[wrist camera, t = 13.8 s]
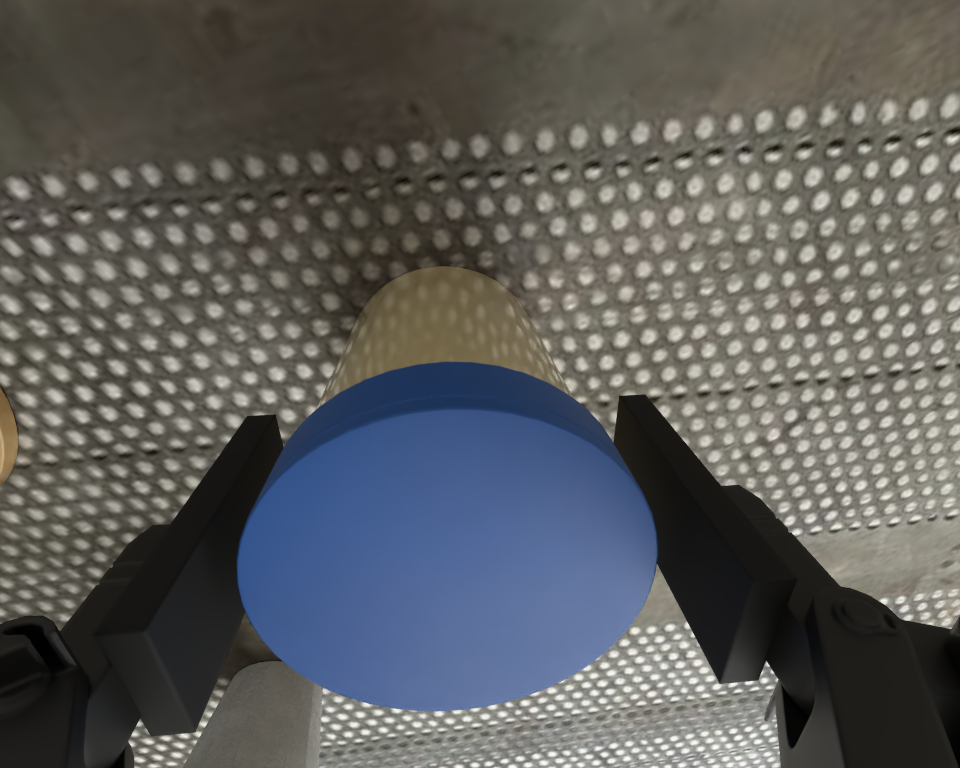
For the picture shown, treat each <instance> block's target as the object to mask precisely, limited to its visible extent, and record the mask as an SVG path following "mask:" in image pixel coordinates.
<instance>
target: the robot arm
mask: <svg viewBox="0 0 960 768" xmlns="http://www.w3.org/2000/svg"><path fill="white" fill-rule="evenodd" d="M614 445H615V447H616V448H617V450H618V452H619V453H620V455H621V457H622V458H623V460H624V462H625V463H626V465H627V467H628V468H629V470H630V472H631V473H632V475H633V477H634V478H635V480H636V482H637V483H638V485H639V487H640V488H641V490H642V492H643V493H644V496H645V498H646V500H647V502H648V505H649V507H650V509H651V511H652V514H653V518H654V523H655V527H656V531H657V544H658V557H657V564H658V566H659V568H660V570H661V572H662V574H663V576H664V578H665V580H666V582H667V584H668V585H669V587H670V589H671V591H672V593H673V595H674V597H675V599H676V601H677V603H678V605H679V606H680V608H681V610H682V612H683V614H684V616H685V618H686V620H687V622H688V624H689V626H690V628H691V629H692V631H693V633H694V635H695V637H696V639H697V641H698V643H699V645H700V647H701V649H702V651H703V652H704V654H705V656H706V658H707V660H708V662H709V664H710V666H711V668H712V670H713V672H714V673H715V675H716V677H717V679H718V681H719V683H720V684H723V683H734V682H745V681H756V680H759V677H760V674H761V672H762V669H763V667H764V664H765V662H766V661H767V662H768V664H769V665H770V667H771V668H772V670H773V672H774V673H775V675H776V676H777V678H778V679H779V680H778V683H777V685H776V687H775V690H774V692H773V695H772V697H771V699H770V702H769V704H768V706H767V709H766V714H765V721H768V722H772V719H773V717H774V715H775V713H776V716H777V727H778V738H779V749H780V760H781V768H960V617H959V618H958V620H957V621H956V623H955V624H954V626H953V628H952V629H947V628H942V627H937V626H932V625H926V624H921V623H916V622H911V621H905V620H901V619H900V618H898V617H897V616H896V615H895V614H894V613H893V612H892V611H891V610H890V609H889V608H888V607H887V606H885V605H884V604H882V603H881V602H879V601H877V600H876V599H874V598H872V597H871V596H869V595H867V594H864V593H862V592H859V591H857V590H854V589H851V588H846V587H840V586H839V585H838V583H837V582H836V581H835V580H834V579H833V578H832V577H831V576H830V575H829V574H828V572H827V571H826V570H825V569H824V568H823V567H822V566H821V565H820V564H819V563H818V562H817V560H816V559H815V558H814V557H813V556H812V555H811V554H810V553H809V552H808V551H807V549H806V548H805V547H804V546H803V545H802V544H801V543H800V542H799V541H798V540H797V538H796V537H795V536H794V535H793V534H792V533H789V532H788V529H787V527H786V526H785V525H784V524H783V523H782V522H781V521H780V520H779V519H776V517H775V514H774V513H773V512H772V511H771V510H770V509H769V508H768V507H767V506H766V504H765V503H764V502H763V501H762V500H761V499H760V498H758V497H757V496H755V495H754V494H752V493H751V492H749V491H747V490H746V489H744V488H743V487H741V486H740V485H730V486H721V485H720V484H719V483H718V482H717V481H716V479H715V478H714V477H713V476H712V475H711V473H710V472H709V471H708V470H707V468H706V467H705V466H704V465H703V464H702V462H701V461H700V460H699V459H698V458H697V456H696V455H695V454H694V453H693V452H692V450H691V449H690V448H689V447H688V446H687V444H686V443H685V442H684V441H683V440H682V438H681V437H680V436H679V435H678V434H677V432H676V431H675V430H674V429H673V428H672V426H671V425H670V424H669V423H668V421H667V420H666V419H665V418H664V417H663V415H662V414H661V413H660V412H659V411H658V409H657V408H656V407H655V406H654V405H653V403H652V402H651V401H650V400H649V399H648V397H647V396H646V395H628V396H619V403H618V411H617V419H616V427H615V435H614ZM283 449H284V448H283V443H282V439H281V435H280V431H279V427H278V423H277V419H276V415H260V416H247V417H246V419H245V420H244V421H243V423H242V424H241V426H240V427H239V428H238V430H237V431H236V433H235V434H234V436H233V437H232V438H231V440H230V441H229V443H228V444H227V445H226V447H225V448H224V450H223V451H222V452H221V454H220V455H219V457H218V458H217V460H216V461H215V462H214V464H213V465H212V467H211V468H210V469H209V471H208V472H207V474H206V475H205V476H204V478H203V479H202V481H201V482H200V484H199V485H198V486H197V488H196V489H195V491H194V492H193V493H192V495H191V496H190V498H189V499H188V500H187V502H186V503H185V505H184V506H183V508H182V509H181V510H180V512H179V513H178V515H177V516H176V517H175V519H174V520H173V522H172V523H171V524H168V525H153V526H151V527H150V528H148V529H147V530H146V531H144V532H143V533H142V534H141V535H139V536H138V537H137V538H135V539H134V540H133V541H132V542H130V543H129V544H128V545H127V547H126V548H125V549H124V550H123V552H122V553H121V554H120V556H119V557H118V558H117V559H116V561H115V562H114V563H113V568H109V570H108V571H107V572H106V574H105V575H104V576H103V577H102V579H101V580H100V584H99V585H96V586H95V588H94V589H93V590H92V592H91V593H90V594H89V595H88V597H87V598H86V599H85V601H84V602H83V603H82V604H81V606H80V607H79V608H78V609H77V611H76V612H75V613H74V615H73V616H72V617H71V618H70V620H69V621H68V622H67V624H66V625H65V626H64V627H63V629H62V630H61V631H59V630H58V628H57V627H56V625H55V623H54V622H53V621H52V620H50V619H48V618H47V617H45V616H24V617H21V618H17V619H13V620H10V621H6V622H4V623H2V624H0V768H134V755H133V752H132V749H131V746H130V744H129V742H128V740H129V738H130V736H131V735H132V733H133V731H134V729H135V727H136V725H137V723H138V721H139V719H140V718H141V720H142V721H143V723H144V725H145V727H146V728H147V730H148V732H149V733H150V735H151V736H160V735H171V734H182V733H193V732H196V729H197V727H198V725H199V722H200V720H201V717H202V715H203V713H204V710H205V708H206V705H207V703H208V701H209V698H210V696H211V693H212V691H213V688H214V686H215V684H216V681H217V679H218V676H219V674H220V672H221V669H222V667H223V664H224V662H225V660H226V657H227V655H228V652H229V650H230V648H231V645H232V643H233V640H234V638H235V636H236V633H237V631H238V628H239V626H240V623H241V621H242V619H243V616H244V614H245V609H244V607H243V604H242V601H241V596H240V592H239V588H238V583H237V555H238V549H239V542H240V538H241V535H242V533H243V530H244V527H245V524H246V521H247V518H248V516H249V514H250V512H251V511H252V509H253V507H254V505H255V503H256V501H257V499H258V497H259V495H260V493H261V491H262V489H263V487H264V485H265V483H266V481H267V479H268V477H269V475H270V473H271V471H272V469H273V467H274V465H275V463H276V461H277V459H278V457H279V456H280V454H281V452H282V450H283Z"/></svg>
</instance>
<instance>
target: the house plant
mask: <svg viewBox="0 0 960 768" xmlns="http://www.w3.org/2000/svg"><path fill="white" fill-rule="evenodd" d="M321 706H322V686H320V685H318V684H316V683H314V682H312V681H310V680H308V679H307V678H305V677H304V676H302V675H301V674H299V673H298V672H296V671H294V670H293V669H291V668H290V667H289V666H288V665H287V664H285V663H284V662H283V661H267V662H259V663H256V664H252V665H249V666H247V667H245V668H244V669H242V670H240V671H239V672H238V673H237V674H236V675H235V676H234V677H233V679H232V681H231V683H230V684H229V686H228V688H227V690H226V691H225V693H224V695H223V697H222V699H221V700H220V702H219V704H218V706H217V707H216V709H215V711H214V713H213V715H212V716H211V718H210V720H209V722H208V723H207V725H206V727H205V729H204V731H203V732H202V734H201V736H200V738H199V739H198V741H197V743H196V745H195V747H194V748H193V750H192V752H191V754H190V755H189V757H188V759H187V761H186V763H185V764H184V766H183V768H318V766H319V746H320V726H321Z"/></svg>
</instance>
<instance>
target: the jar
mask: <svg viewBox="0 0 960 768" xmlns="http://www.w3.org/2000/svg"><path fill="white" fill-rule="evenodd" d="M437 362H475V363H482V364H489V365H496V366H501V367H505V368H509V369H512V370H516V371H520V372H523V373H526V374H529V375H531V376H534V377H536V378H538V379H541V380H543V381H546V382H548V383H550V384H551V385H553V386H555V387H557V388H558V389H560V390H562V391H563V392H565V393H567V394H569V395H570V396H571V397H572V398H573V396H572V394H571V393H570V391H569V389H568V387H567V385H566V383H565V382H564V380H563V378H562V376H561V374H560V372H559V371H558V369H557V367H556V365H555V363H554V361H553V360H552V358H551V356H550V354H549V352H548V350H547V349H546V347H545V345H544V343H543V341H542V339H541V338H540V336H539V334H538V332H537V330H536V328H535V327H534V325H533V323H532V321H531V319H530V317H529V316H528V314H527V312H526V311H525V309H524V307H523V306H522V304H521V303H520V302H519V301H518V300H517V298H516V297H515V296H514V295H513V294H512V293H511V292H510V291H509V290H508V289H506V288H505V287H504V286H503V285H501V284H500V283H498V282H497V281H495V280H494V279H492V278H490V277H488V276H486V275H484V274H481V273H478V272H476V271H473V270H469V269H464V268H459V267H449V266H439V267H428V268H423V269H418V270H415V271H412V272H409V273H406V274H404V275H402V276H400V277H398V278H396V279H394V280H392V281H391V282H389V283H388V284H386V285H385V286H383V287H382V288H381V289H380V290H379V291H378V292H377V293H375V294H374V295H373V296H372V298H371V299H370V300H369V301H368V302H367V304H366V305H365V306H364V308H363V310H362V311H361V313H360V314H359V316H358V319H357V321H356V323H355V325H354V327H353V330H352V332H351V334H350V336H349V338H348V341H347V343H346V345H345V347H344V349H343V352H342V354H341V356H340V358H339V360H338V363H337V365H336V367H335V369H334V371H333V374H332V376H331V378H330V380H329V382H328V385H327V387H326V389H325V391H324V393H323V396H322V398H321V400H320V402H319V404H318V407H317V409H318V408H319V407H320V406H321V405H323V404H324V403H326V402H327V401H328V400H330V399H331V398H333V397H334V396H336V395H337V394H339V393H340V392H342V391H344V390H346V389H347V388H349V387H351V386H353V385H355V384H357V383H359V382H361V381H363V380H365V379H368V378H371V377H374V376H377V375H379V374H382V373H385V372H388V371H391V370H395V369H399V368H404V367H408V366H413V365H417V364H427V363H437ZM317 409H316V410H317Z"/></svg>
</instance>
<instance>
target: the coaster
mask: <svg viewBox="0 0 960 768" xmlns="http://www.w3.org/2000/svg"><path fill="white" fill-rule="evenodd" d="M17 450H18V430H17V426H16V421H15V417H14V414H13V411H12V409H11V406H10V404H9V401H8V399H7V397H6V395H5V394H4V392H3V390H2V388H1V386H0V486H1V485H2V484H3V483H4V482H5V481H6V479H7V478H8V476H9V474H10V473H11V471H12V469H13V466H14V463H15V461H16V457H17Z"/></svg>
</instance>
